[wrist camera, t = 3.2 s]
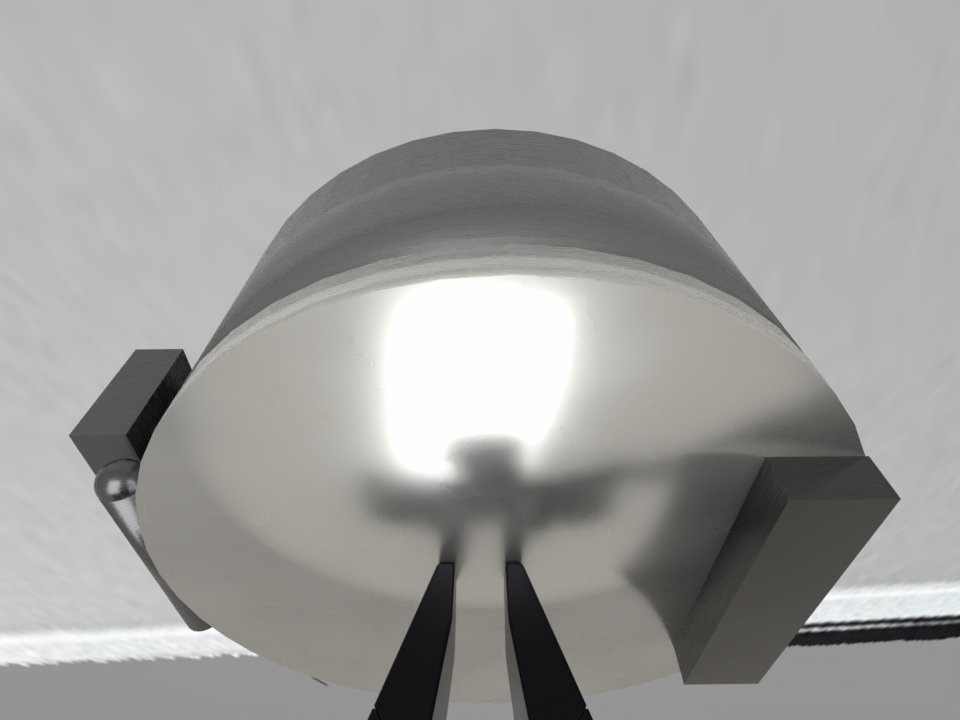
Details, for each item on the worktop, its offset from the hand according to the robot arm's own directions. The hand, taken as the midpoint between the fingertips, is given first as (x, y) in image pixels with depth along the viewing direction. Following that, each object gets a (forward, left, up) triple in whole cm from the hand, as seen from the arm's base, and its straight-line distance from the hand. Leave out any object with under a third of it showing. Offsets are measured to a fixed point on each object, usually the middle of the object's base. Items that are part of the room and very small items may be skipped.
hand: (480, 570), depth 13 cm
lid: (0, 0, -1) cm, 1 cm away
